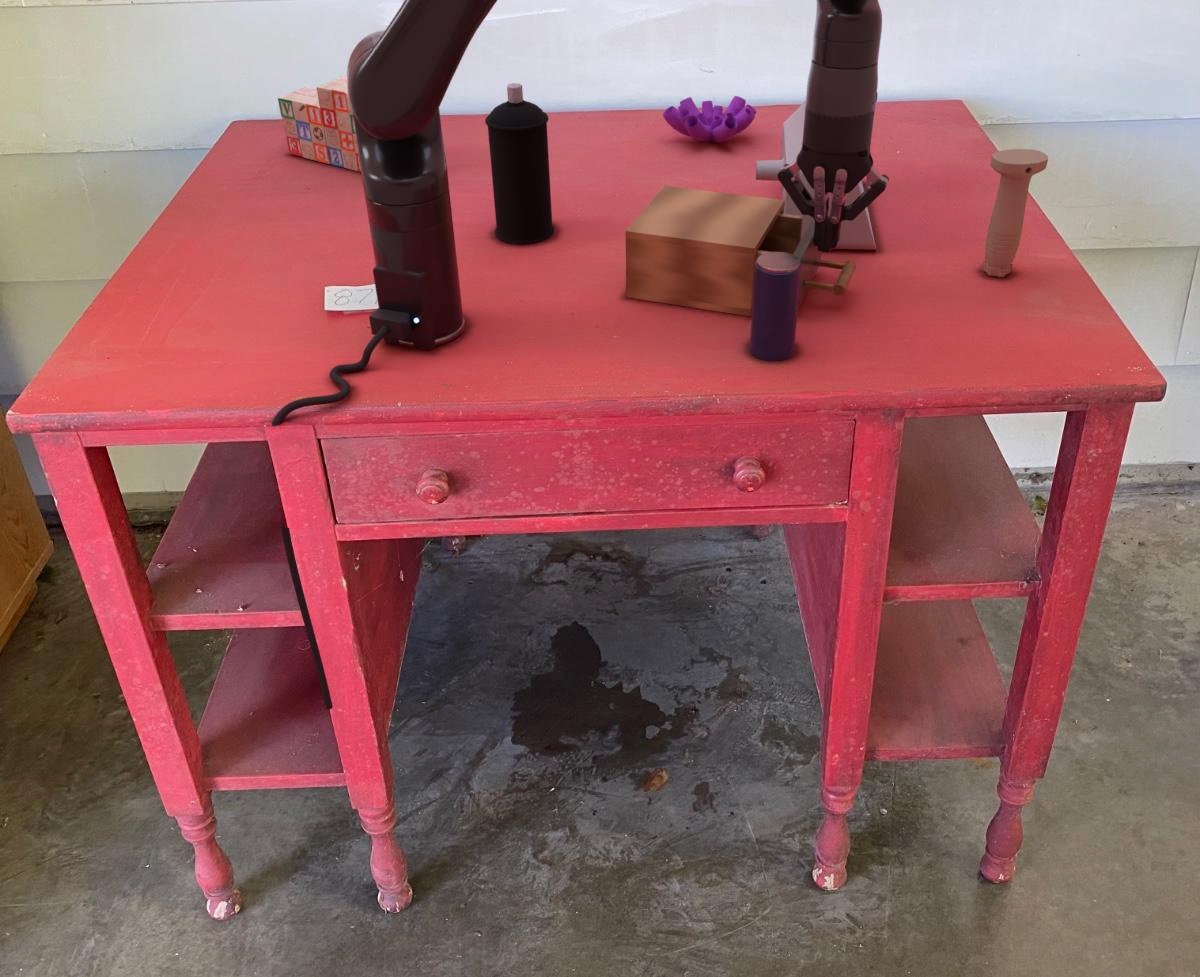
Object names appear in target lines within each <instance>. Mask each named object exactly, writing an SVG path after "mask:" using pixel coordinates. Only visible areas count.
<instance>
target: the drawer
mask: <svg viewBox="0 0 1200 977" xmlns="http://www.w3.org/2000/svg"><path fill="white" fill-rule="evenodd" d="M802 220H803V216H798V215H790V214H782V213H780V215H779V216H778V218H777V219H776V221H775V223H774V224H773V226H772V227H771V229H770V231H769V232H768V234H767V236H766V237H765V239H764V240H763V242H762V244H761V245H760V247H759V248H758V250H757V252H756V261H757V259H758V257H759V256H761V255H762V254H765V253H769V252H785V253H790V254H793V255H795V256H796V257H798V258H799V260H800V262H801V265H802V268H801V279H800V290H799V301H798V309H799V308H800V306H801V304H802V302H803V301H804V298H805V296H806V294H807V292H808V291H809V288H810V289H818V290H825V291H832V292H833V294H834V295H836V296H838V297H839V296H843V295H844V294H845V292H846V290H847V288H848V286H849V283H850V282H851V279H852V277H853V275H854V272H855V270H856V267H857V264H856V262H855V261H853V260H851V259H849V260H846V261H845V263H844V262H838V261H830V260H822V251H818V246H814V243H813V238H814V227H815V220H814V218H813V219H812V221H811V223H810V225H809V227H808V228H807V230H806V232H805V234H804V236H803V237H802V239H801V232H802ZM820 267H822V268H830V269H836V270H841V271H840V273H839V275H838V277H837V279H836V282H835V283H828V282H820V281H813V280H814V278H815V276H816V274H817V273H818V271H819V269H820Z"/></svg>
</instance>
